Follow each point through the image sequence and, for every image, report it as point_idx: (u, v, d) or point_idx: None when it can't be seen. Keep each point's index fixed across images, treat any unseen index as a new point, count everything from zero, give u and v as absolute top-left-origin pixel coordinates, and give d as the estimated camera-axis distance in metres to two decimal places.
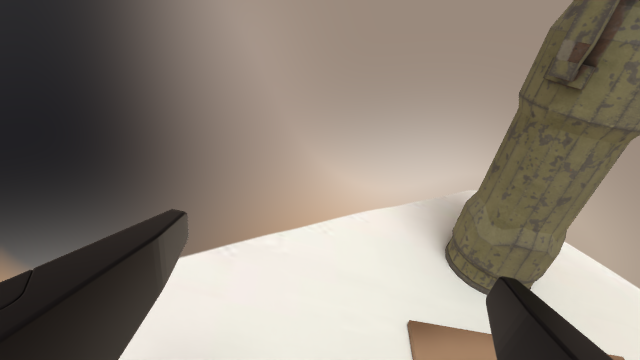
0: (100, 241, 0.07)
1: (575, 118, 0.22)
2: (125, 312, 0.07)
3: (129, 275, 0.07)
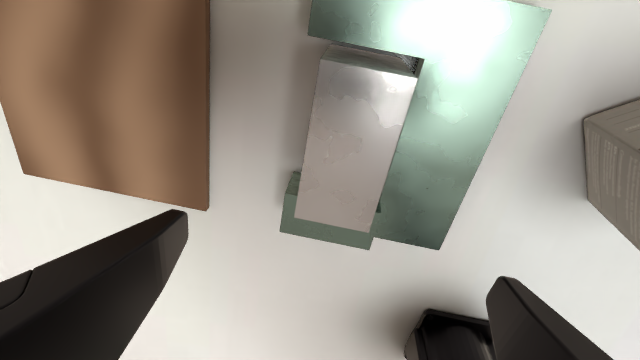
0: (100, 241, 0.07)
1: None
2: (125, 312, 0.07)
3: (129, 275, 0.07)
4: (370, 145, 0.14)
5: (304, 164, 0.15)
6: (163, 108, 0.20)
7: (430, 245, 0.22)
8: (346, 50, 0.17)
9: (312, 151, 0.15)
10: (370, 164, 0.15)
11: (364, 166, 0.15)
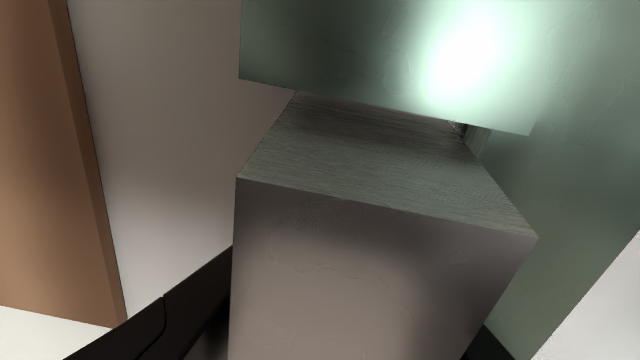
0: (210, 263, 0.07)
1: None
2: None
3: None
4: None
5: None
6: (18, 187, 0.12)
7: None
8: (331, 102, 0.08)
9: None
10: None
11: None
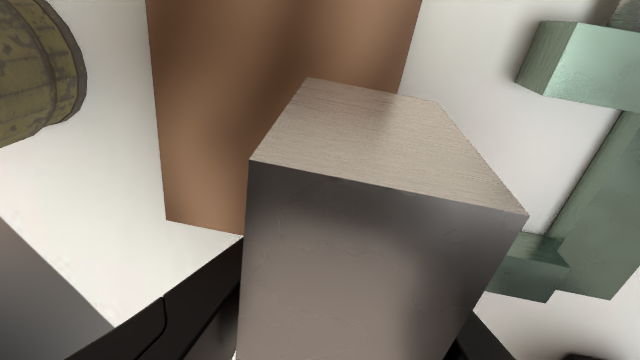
0: (210, 263, 0.07)
1: None
2: (232, 334, 0.07)
3: (239, 297, 0.07)
4: (387, 341, 0.06)
5: None
6: None
7: (601, 295, 0.21)
8: (334, 95, 0.08)
9: (252, 341, 0.06)
10: None
11: None
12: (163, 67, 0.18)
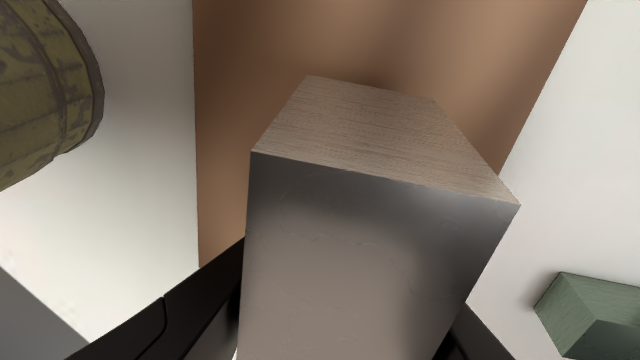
0: (210, 263, 0.07)
1: None
2: (233, 334, 0.07)
3: (239, 297, 0.07)
4: (385, 329, 0.06)
5: (240, 349, 0.07)
6: None
7: None
8: (333, 92, 0.08)
9: (253, 330, 0.07)
10: (385, 359, 0.07)
11: None
12: (210, 86, 0.14)
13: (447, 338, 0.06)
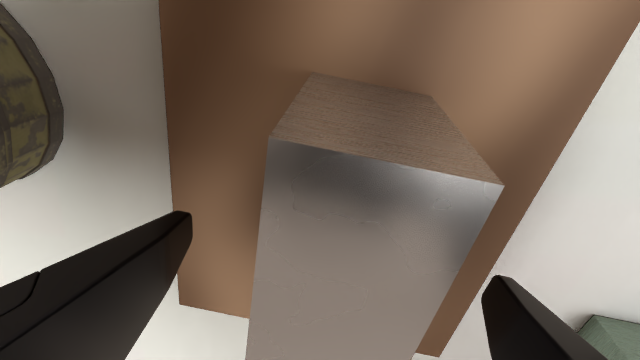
0: (106, 241, 0.07)
1: None
2: (131, 314, 0.07)
3: (135, 276, 0.07)
4: (385, 302, 0.07)
5: (252, 323, 0.08)
6: None
7: None
8: (337, 88, 0.09)
9: (265, 304, 0.07)
10: (385, 330, 0.07)
11: (372, 333, 0.07)
12: (184, 105, 0.12)
13: None
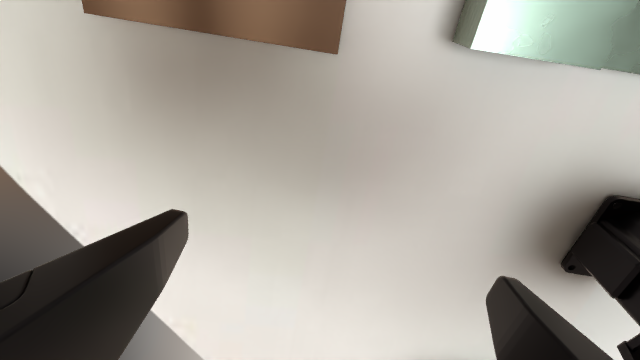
0: (100, 241, 0.07)
1: None
2: (126, 312, 0.07)
3: (129, 275, 0.07)
4: None
5: None
6: None
7: None
8: None
9: None
10: None
11: None
12: None
13: None
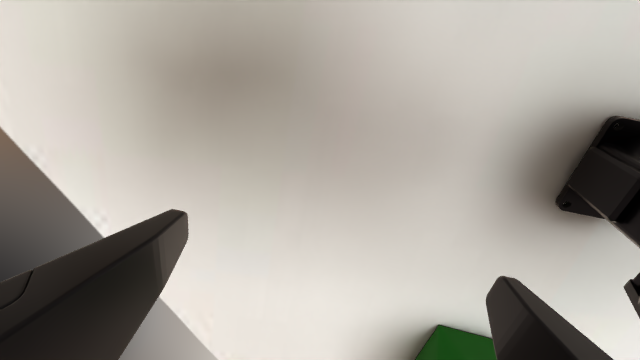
0: (100, 240, 0.07)
1: None
2: (125, 313, 0.07)
3: (129, 275, 0.07)
4: None
5: None
6: None
7: None
8: None
9: None
10: None
11: None
12: None
13: None
